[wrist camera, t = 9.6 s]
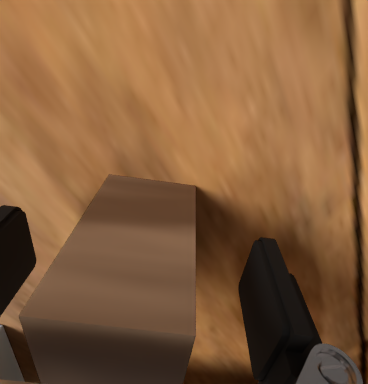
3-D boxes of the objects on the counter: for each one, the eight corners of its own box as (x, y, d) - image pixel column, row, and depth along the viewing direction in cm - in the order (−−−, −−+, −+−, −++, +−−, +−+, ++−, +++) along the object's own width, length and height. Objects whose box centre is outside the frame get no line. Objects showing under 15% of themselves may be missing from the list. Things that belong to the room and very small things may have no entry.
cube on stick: (109, 174, 12) (18, 315, 6) (195, 185, 12) (195, 336, 6) (113, 381, 22) (82, 511, 16) (160, 386, 22) (147, 516, 16)
